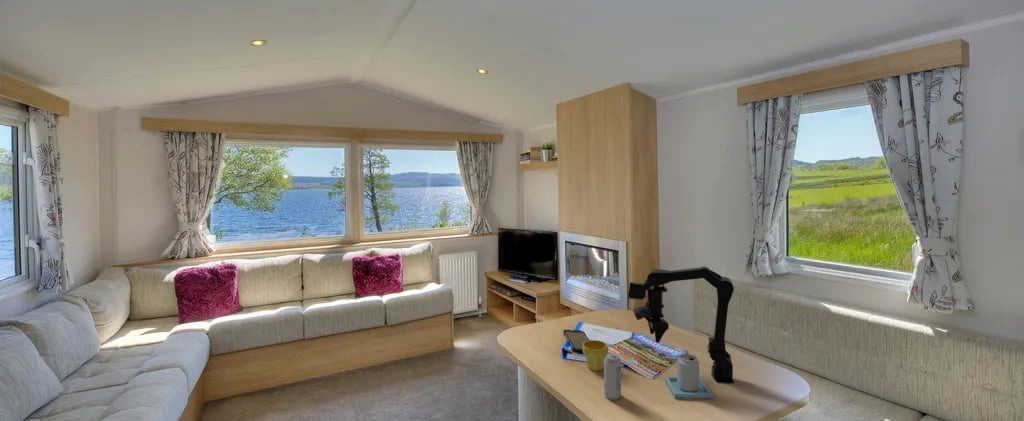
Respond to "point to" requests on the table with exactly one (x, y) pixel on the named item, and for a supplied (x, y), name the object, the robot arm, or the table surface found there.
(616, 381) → the energy drink can
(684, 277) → the robot arm
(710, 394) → the tray
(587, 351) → the plant pot
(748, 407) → the table surface
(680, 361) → the can
